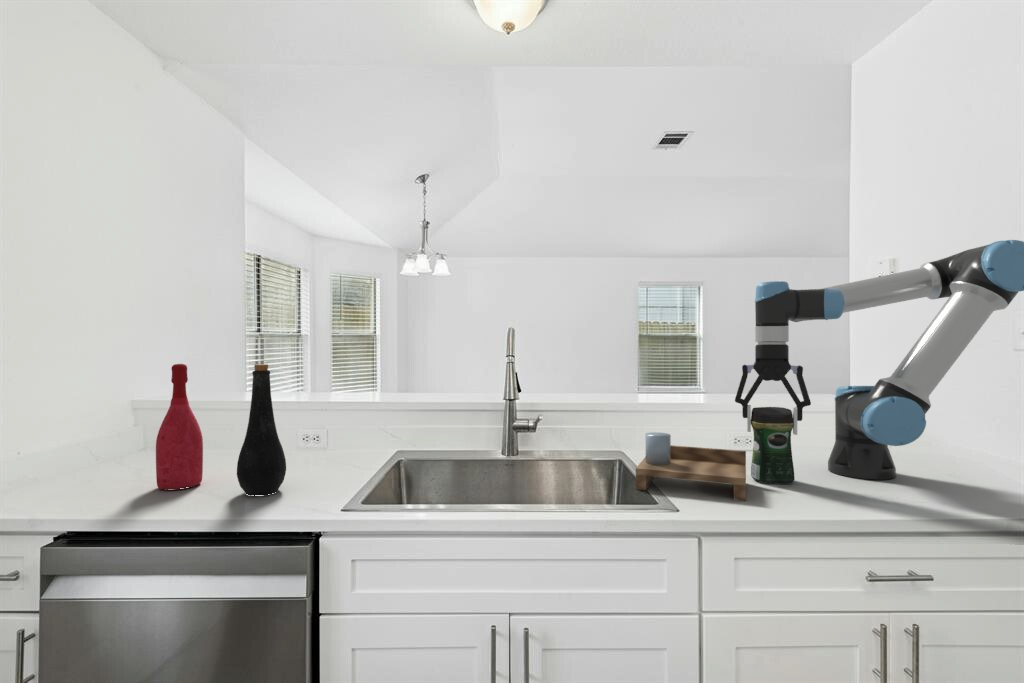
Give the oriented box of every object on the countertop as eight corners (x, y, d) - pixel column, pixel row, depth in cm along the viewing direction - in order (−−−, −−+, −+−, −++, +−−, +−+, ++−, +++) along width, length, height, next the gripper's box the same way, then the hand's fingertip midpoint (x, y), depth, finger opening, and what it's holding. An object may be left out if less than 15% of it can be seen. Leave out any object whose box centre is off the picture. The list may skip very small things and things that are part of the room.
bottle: (296, 488, 129) (295, 363, 129) (262, 501, 119) (261, 366, 119) (261, 484, 133) (260, 363, 133) (225, 496, 123) (225, 365, 123)
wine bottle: (212, 483, 134) (211, 363, 134) (172, 493, 125) (172, 365, 125) (186, 479, 138) (185, 362, 138) (146, 489, 129) (146, 364, 129)
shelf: (745, 483, 133) (745, 450, 133) (745, 501, 118) (745, 464, 118) (647, 473, 143) (647, 443, 143) (635, 489, 128) (635, 455, 128)
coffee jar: (785, 477, 139) (785, 405, 139) (798, 485, 131) (799, 409, 131) (746, 476, 140) (746, 404, 139) (757, 484, 132) (758, 408, 132)
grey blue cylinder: (672, 461, 135) (672, 433, 135) (668, 466, 130) (668, 437, 130) (647, 459, 138) (647, 431, 138) (643, 464, 132) (643, 435, 132)
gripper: (820, 343, 134) (820, 433, 134) (724, 343, 143) (724, 427, 143) (824, 343, 127) (824, 438, 127) (723, 343, 136) (723, 431, 136)
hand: (771, 432), depth 135 cm, fingers closed on coffee jar, 10 cm apart
